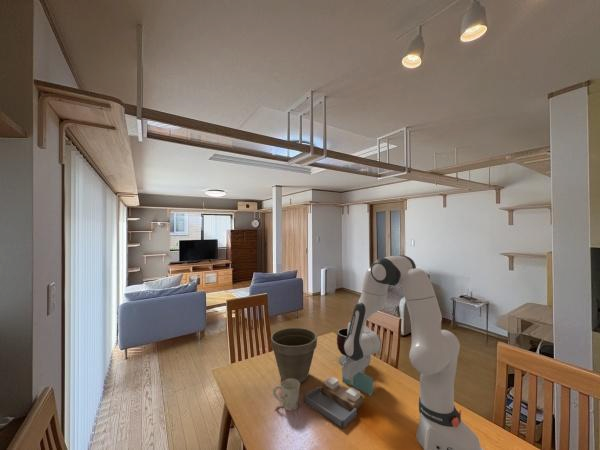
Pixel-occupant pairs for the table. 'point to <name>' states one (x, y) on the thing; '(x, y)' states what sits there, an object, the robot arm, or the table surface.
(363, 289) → the robot arm
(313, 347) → the plant pot
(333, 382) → the tile
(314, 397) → the tray
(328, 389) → the board
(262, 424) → the table surface
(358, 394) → the tile
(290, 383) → the mug
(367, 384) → the teal rectangular block
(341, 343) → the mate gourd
